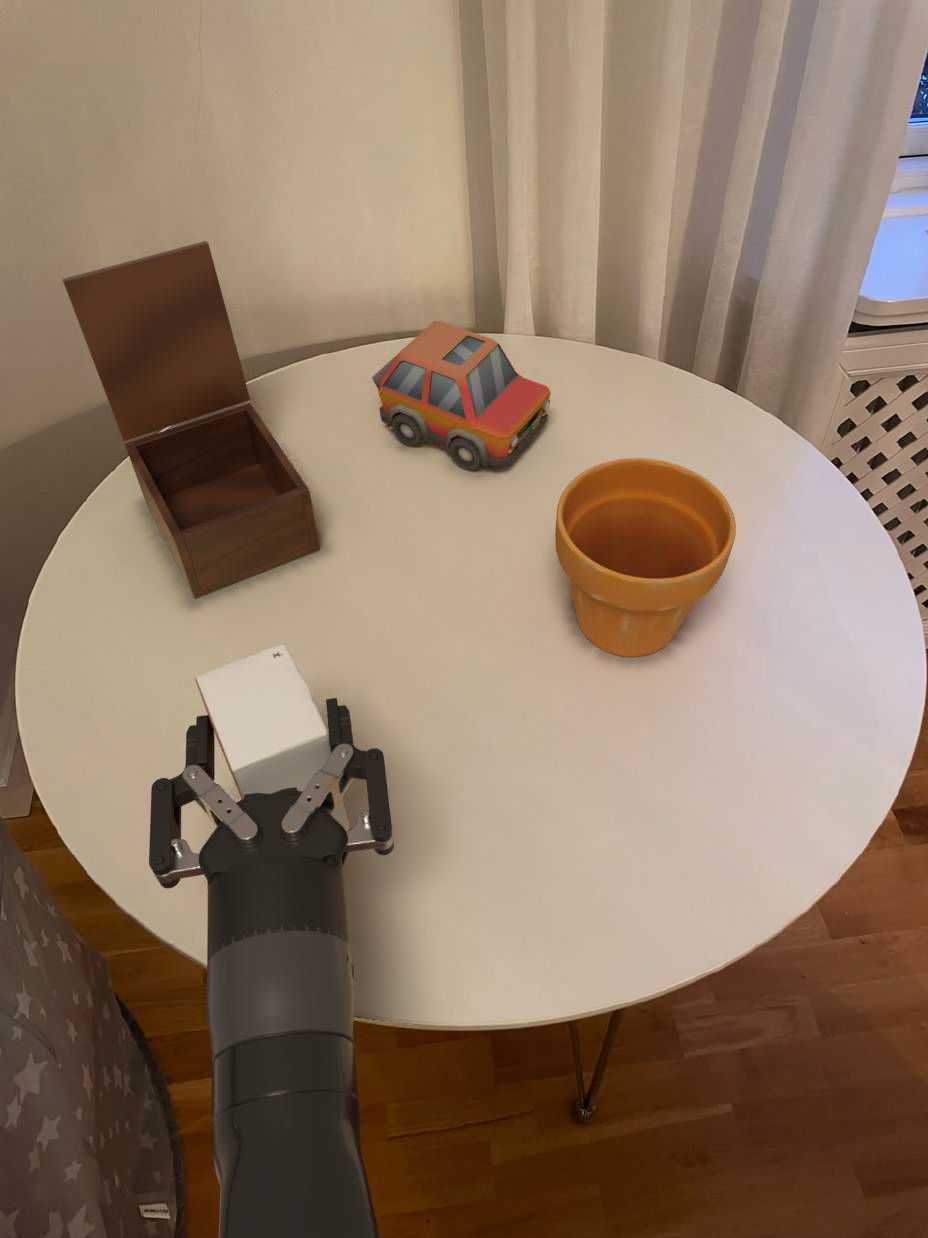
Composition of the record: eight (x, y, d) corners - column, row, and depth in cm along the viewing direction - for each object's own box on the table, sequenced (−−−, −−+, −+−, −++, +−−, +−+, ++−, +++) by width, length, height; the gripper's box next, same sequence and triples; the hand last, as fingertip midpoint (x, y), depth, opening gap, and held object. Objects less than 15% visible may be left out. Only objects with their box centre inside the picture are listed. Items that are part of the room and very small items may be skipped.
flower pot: (521, 648, 82) (528, 545, 72) (580, 543, 90) (594, 438, 80) (675, 706, 78) (706, 606, 68) (723, 591, 86) (757, 487, 76)
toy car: (502, 486, 96) (506, 407, 88) (368, 431, 101) (360, 352, 94) (556, 425, 102) (563, 346, 94) (427, 376, 107) (423, 298, 100)
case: (320, 550, 90) (309, 490, 84) (194, 599, 86) (174, 539, 80) (263, 462, 98) (250, 402, 92) (146, 503, 94) (124, 443, 88)
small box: (232, 778, 70) (192, 674, 60) (311, 746, 71) (286, 639, 62) (267, 869, 65) (230, 772, 55) (352, 832, 67) (331, 731, 57)
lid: (208, 242, 81) (205, 240, 82) (63, 281, 77) (61, 278, 78) (250, 400, 91) (248, 396, 92) (124, 441, 87) (122, 438, 88)
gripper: (410, 916, 48) (375, 663, 58) (122, 962, 46) (140, 694, 56) (415, 968, 53) (383, 730, 64) (160, 1011, 52) (170, 760, 62)
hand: (269, 714), depth 60 cm, fingers closed on small box, 7 cm apart
